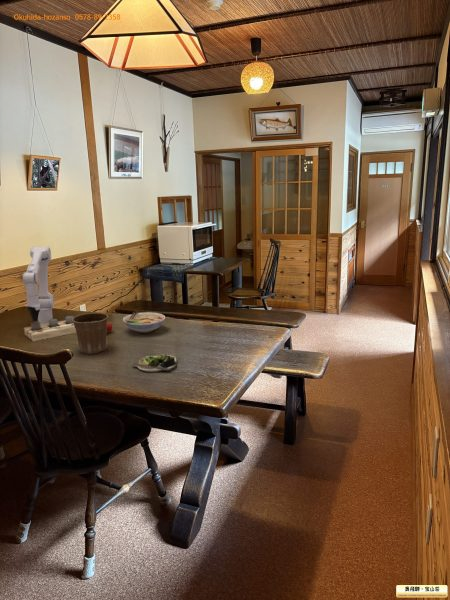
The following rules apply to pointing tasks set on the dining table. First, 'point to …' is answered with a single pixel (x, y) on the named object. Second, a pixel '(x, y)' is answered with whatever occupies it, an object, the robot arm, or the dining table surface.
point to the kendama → (108, 328)
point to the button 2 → (53, 323)
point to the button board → (50, 331)
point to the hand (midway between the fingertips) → (35, 320)
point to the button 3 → (69, 320)
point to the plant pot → (91, 332)
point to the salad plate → (156, 363)
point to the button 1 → (35, 326)
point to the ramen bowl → (144, 321)
